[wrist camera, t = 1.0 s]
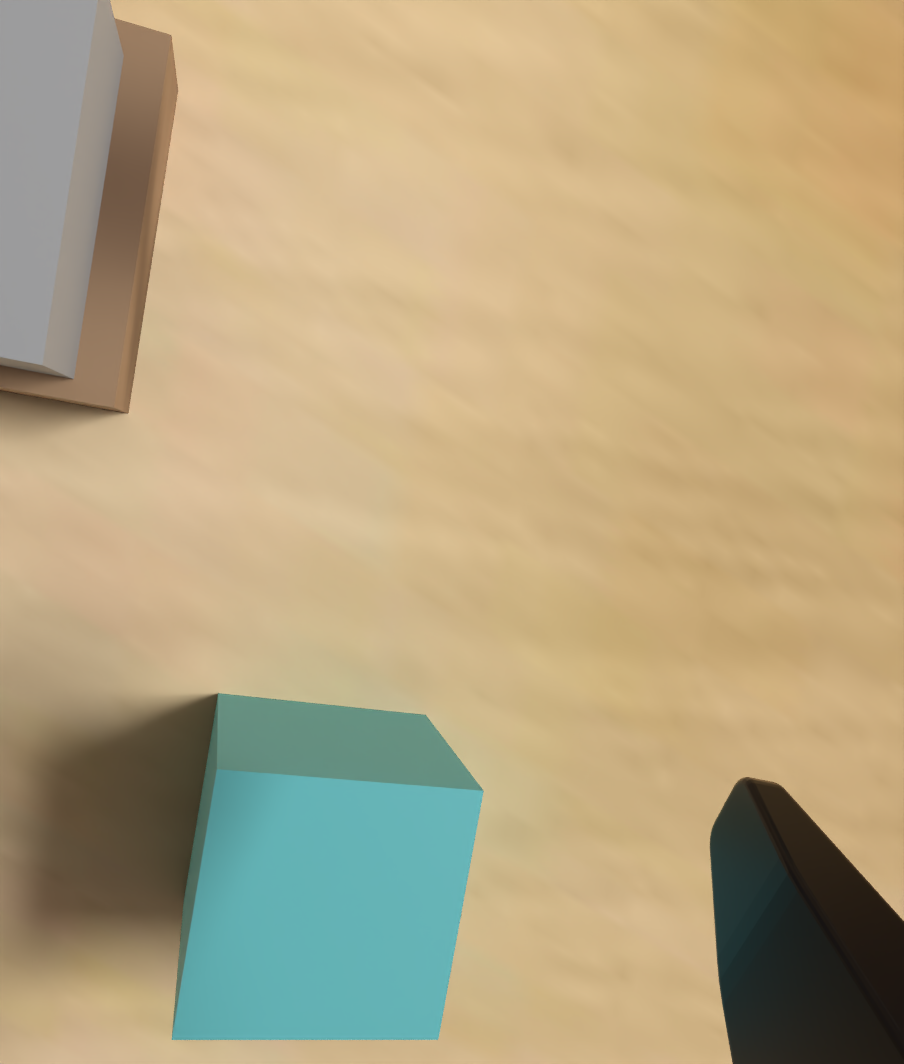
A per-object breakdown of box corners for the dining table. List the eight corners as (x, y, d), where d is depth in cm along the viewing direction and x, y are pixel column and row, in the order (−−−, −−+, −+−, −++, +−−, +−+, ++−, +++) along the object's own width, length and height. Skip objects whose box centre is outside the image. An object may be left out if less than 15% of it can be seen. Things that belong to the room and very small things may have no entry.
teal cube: (390, 908, 22) (437, 1039, 17) (183, 899, 20) (171, 1040, 16) (424, 714, 21) (483, 790, 17) (217, 692, 20) (216, 769, 15)
